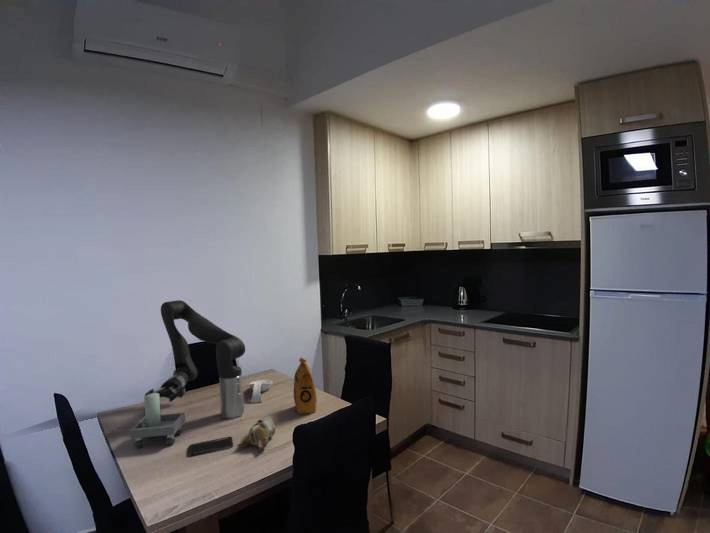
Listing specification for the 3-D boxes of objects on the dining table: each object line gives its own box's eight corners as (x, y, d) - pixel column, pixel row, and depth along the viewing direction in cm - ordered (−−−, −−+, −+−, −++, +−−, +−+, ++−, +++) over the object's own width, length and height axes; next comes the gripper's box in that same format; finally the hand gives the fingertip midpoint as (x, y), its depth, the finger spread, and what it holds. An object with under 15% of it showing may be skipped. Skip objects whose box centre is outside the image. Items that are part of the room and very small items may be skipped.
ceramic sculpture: (281, 412, 142) (260, 433, 128) (283, 434, 143) (262, 457, 129) (257, 410, 145) (233, 430, 131) (259, 431, 146) (236, 453, 132)
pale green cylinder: (162, 423, 144) (161, 392, 143) (157, 429, 139) (156, 397, 138) (149, 424, 143) (147, 393, 143) (143, 430, 138) (141, 398, 138)
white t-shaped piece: (250, 386, 198) (250, 373, 198) (273, 385, 200) (272, 371, 199) (244, 404, 174) (243, 389, 174) (269, 402, 176) (269, 387, 176)
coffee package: (294, 416, 159) (292, 365, 158) (293, 404, 171) (292, 357, 171) (317, 413, 161) (316, 363, 160) (315, 402, 173) (313, 355, 172)
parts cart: (185, 431, 148) (184, 412, 148) (174, 446, 136) (173, 426, 136) (145, 434, 146) (144, 416, 146) (131, 450, 134) (130, 430, 134)
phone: (188, 444, 136) (231, 436, 141) (189, 447, 136) (232, 438, 142) (187, 455, 129) (233, 445, 134) (188, 458, 129) (233, 448, 134)
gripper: (155, 378, 162) (139, 392, 146) (190, 376, 163) (177, 389, 147) (156, 395, 162) (140, 411, 146) (190, 393, 164) (178, 407, 148)
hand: (158, 400), depth 147 cm, fingers open, 8 cm apart
